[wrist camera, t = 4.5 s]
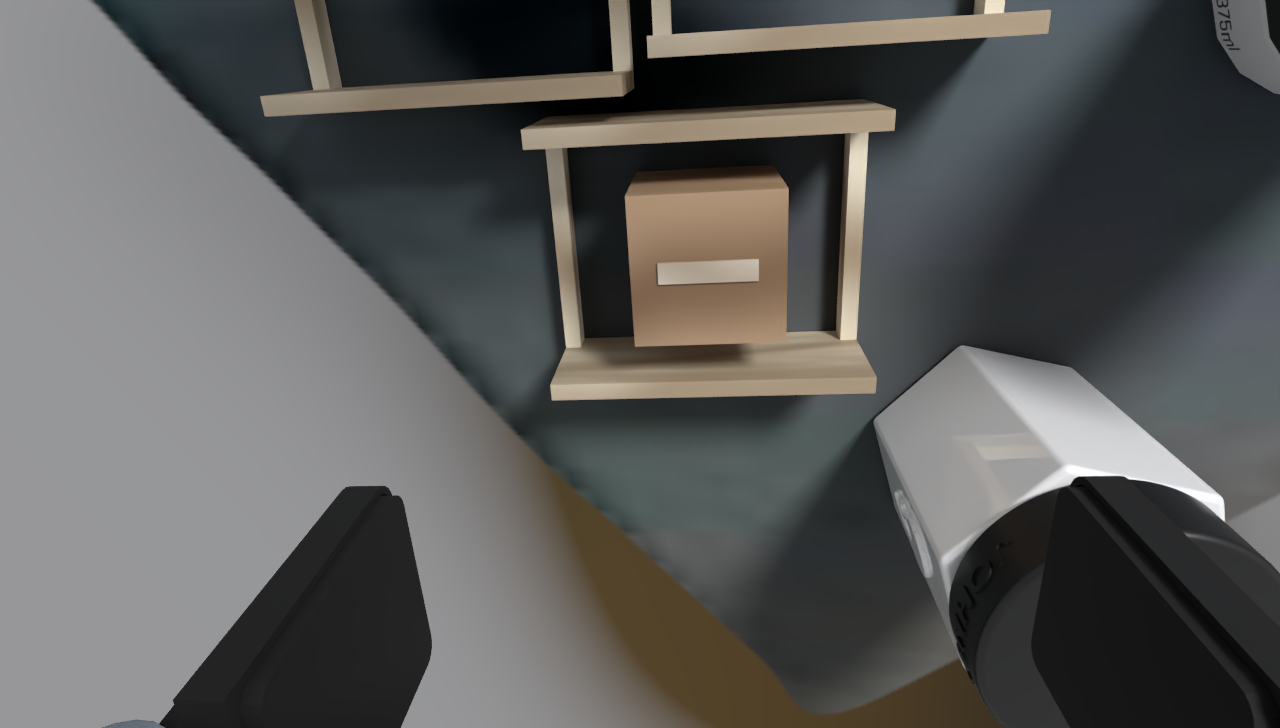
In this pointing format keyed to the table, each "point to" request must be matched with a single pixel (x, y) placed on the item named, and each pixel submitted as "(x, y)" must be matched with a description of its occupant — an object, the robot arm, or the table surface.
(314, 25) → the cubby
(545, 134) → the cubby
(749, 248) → the letter cube
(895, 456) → the jar
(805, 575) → the table surface
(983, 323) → the table surface
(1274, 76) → the supplement can
